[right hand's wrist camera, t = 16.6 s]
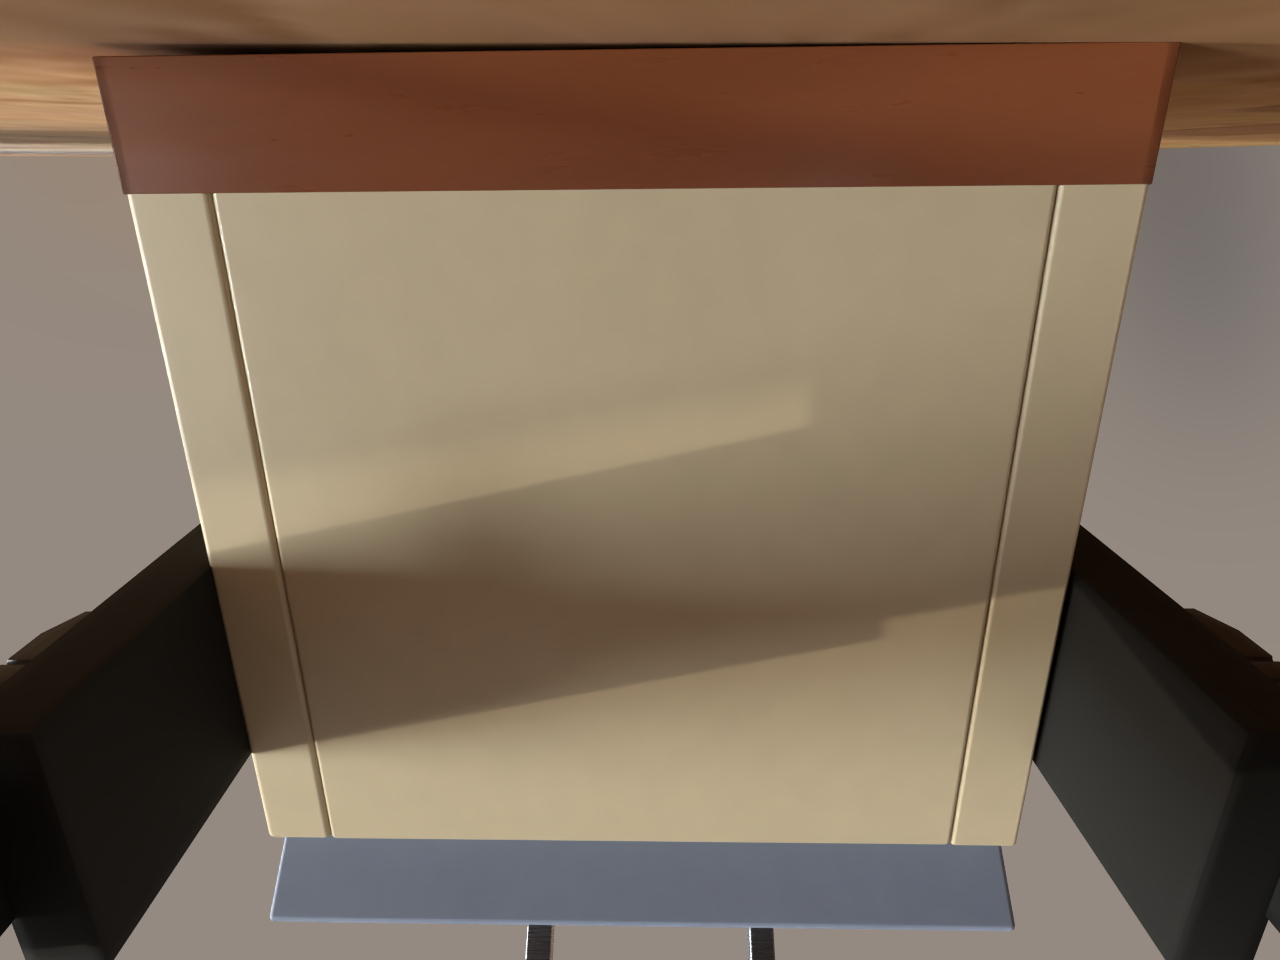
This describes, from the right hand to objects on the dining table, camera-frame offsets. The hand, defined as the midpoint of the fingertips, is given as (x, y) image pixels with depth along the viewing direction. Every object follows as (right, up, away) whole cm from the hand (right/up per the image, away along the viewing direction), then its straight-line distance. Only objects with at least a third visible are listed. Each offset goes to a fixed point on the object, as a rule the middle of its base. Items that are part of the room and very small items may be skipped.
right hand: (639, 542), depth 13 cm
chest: (0, +8, +2) cm, 8 cm away
